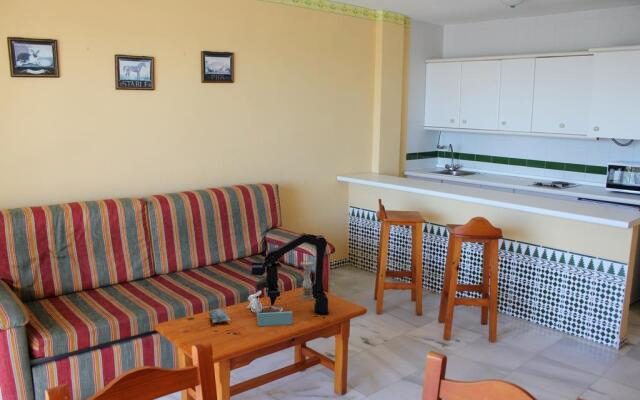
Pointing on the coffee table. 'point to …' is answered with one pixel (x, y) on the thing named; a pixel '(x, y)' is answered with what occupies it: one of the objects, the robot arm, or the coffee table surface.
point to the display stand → (274, 318)
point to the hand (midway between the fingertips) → (272, 304)
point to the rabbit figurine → (255, 303)
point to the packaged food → (218, 316)
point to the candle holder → (307, 281)
